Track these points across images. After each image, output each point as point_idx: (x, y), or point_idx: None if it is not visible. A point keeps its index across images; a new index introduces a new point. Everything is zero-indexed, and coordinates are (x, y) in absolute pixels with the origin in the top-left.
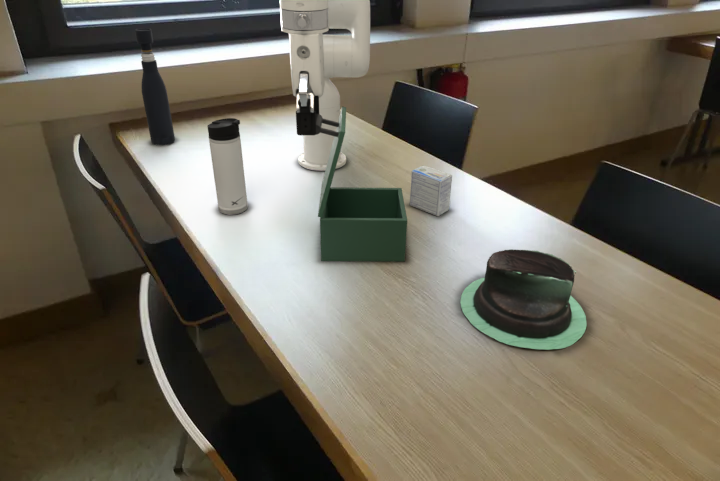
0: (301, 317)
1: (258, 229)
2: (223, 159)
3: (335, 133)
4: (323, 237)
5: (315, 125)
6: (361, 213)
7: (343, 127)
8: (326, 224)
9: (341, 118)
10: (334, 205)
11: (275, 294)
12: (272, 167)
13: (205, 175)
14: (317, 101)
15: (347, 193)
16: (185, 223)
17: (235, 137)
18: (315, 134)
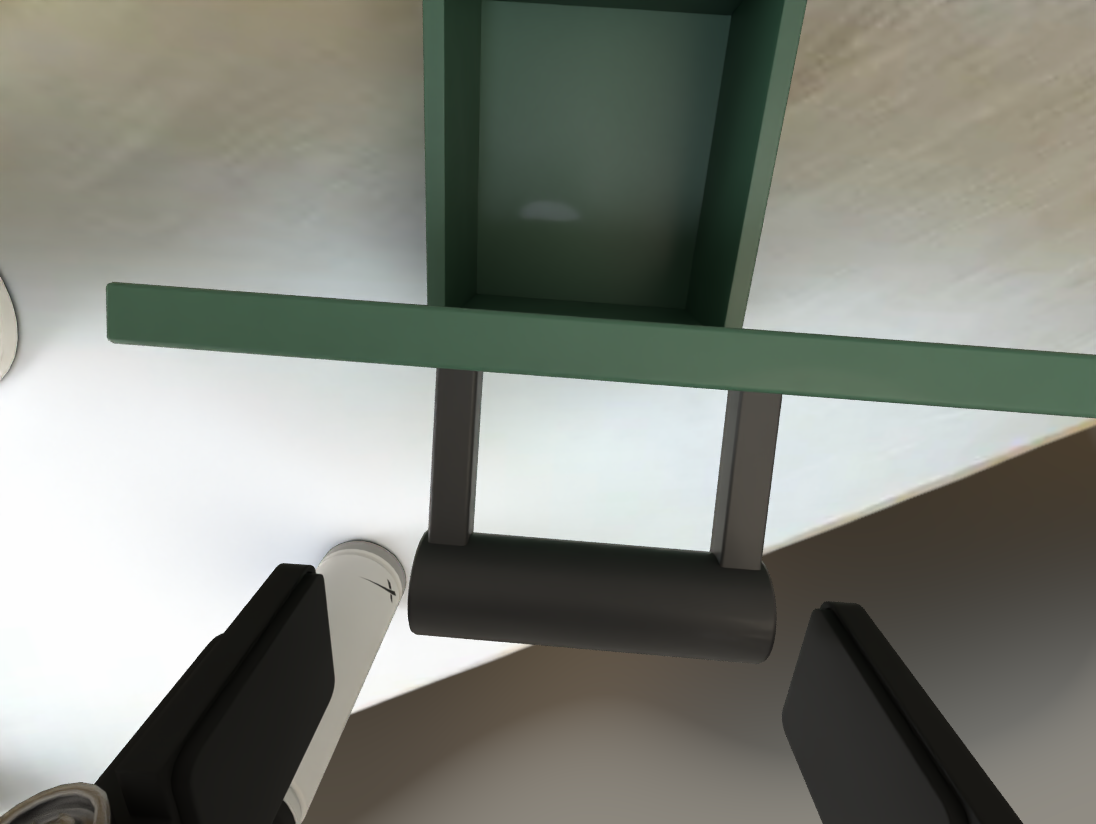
0: None
1: (489, 502)
2: (334, 740)
3: (777, 417)
4: None
5: (911, 674)
6: (470, 159)
7: (993, 374)
8: None
9: (643, 382)
10: (462, 279)
11: (838, 444)
12: (37, 483)
13: (156, 660)
14: (242, 696)
15: (450, 224)
16: (455, 671)
17: None
18: (852, 603)
